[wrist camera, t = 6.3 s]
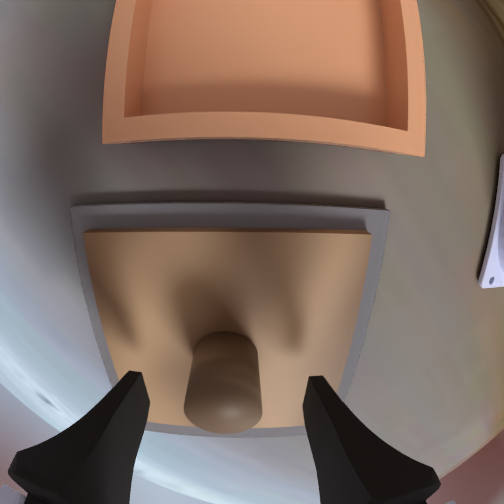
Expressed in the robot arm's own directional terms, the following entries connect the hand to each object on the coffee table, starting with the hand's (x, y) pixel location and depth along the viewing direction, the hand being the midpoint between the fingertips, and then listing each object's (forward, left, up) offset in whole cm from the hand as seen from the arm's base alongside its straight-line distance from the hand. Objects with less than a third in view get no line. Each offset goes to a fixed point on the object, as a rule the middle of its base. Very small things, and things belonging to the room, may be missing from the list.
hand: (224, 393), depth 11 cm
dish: (-1, -15, -3) cm, 16 cm away
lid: (0, 0, -2) cm, 3 cm away
